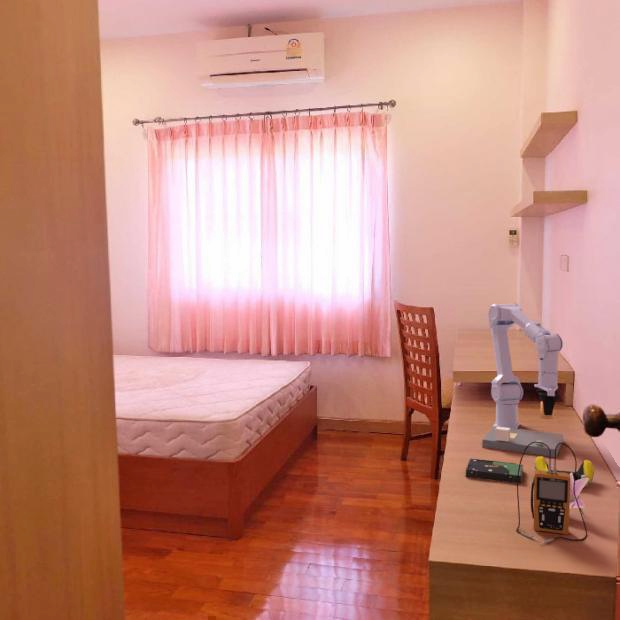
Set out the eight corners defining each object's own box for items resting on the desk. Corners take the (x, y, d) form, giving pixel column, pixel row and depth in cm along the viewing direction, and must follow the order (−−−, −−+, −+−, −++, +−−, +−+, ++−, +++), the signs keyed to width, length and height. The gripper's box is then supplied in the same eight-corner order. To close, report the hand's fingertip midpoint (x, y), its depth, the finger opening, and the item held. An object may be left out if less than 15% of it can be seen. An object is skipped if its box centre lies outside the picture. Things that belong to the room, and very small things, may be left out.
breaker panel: (494, 432, 211) (494, 422, 211) (562, 441, 200) (563, 430, 200) (482, 447, 195) (482, 435, 195) (555, 457, 185) (556, 445, 184)
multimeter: (514, 542, 130) (516, 450, 128) (516, 523, 139) (518, 437, 138) (590, 553, 125) (593, 458, 123) (586, 533, 134) (589, 444, 133)
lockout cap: (541, 415, 200) (541, 398, 200) (554, 416, 198) (554, 399, 198) (539, 418, 197) (539, 401, 196) (552, 419, 195) (553, 402, 194)
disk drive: (465, 479, 169) (522, 485, 164) (465, 469, 169) (522, 475, 163) (469, 467, 179) (523, 472, 173) (469, 458, 178) (523, 463, 173)
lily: (549, 505, 152) (534, 475, 149) (597, 493, 148) (583, 462, 145) (556, 540, 141) (541, 508, 139) (609, 528, 137) (594, 495, 134)
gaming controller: (534, 473, 172) (536, 486, 162) (534, 454, 171) (536, 465, 162) (592, 478, 167) (597, 491, 158) (592, 459, 167) (598, 471, 157)
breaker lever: (497, 437, 196) (497, 426, 196) (510, 439, 194) (510, 428, 194) (495, 439, 193) (495, 428, 193) (508, 441, 191) (508, 430, 191)
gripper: (532, 367, 204) (531, 407, 205) (538, 375, 190) (537, 418, 191) (554, 368, 203) (553, 408, 204) (562, 376, 189) (561, 419, 190)
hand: (546, 413), depth 197 cm, fingers closed on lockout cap, 4 cm apart
